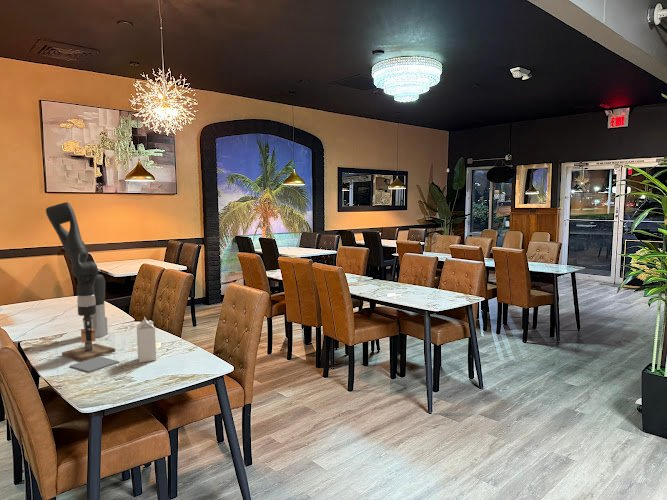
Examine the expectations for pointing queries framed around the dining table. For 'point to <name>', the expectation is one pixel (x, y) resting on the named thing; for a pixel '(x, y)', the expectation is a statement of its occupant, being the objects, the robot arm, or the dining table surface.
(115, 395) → the dining table surface
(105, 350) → the brown board
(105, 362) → the mat
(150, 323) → the milk carton
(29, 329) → the dining table surface
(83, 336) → the tan cube with tab
